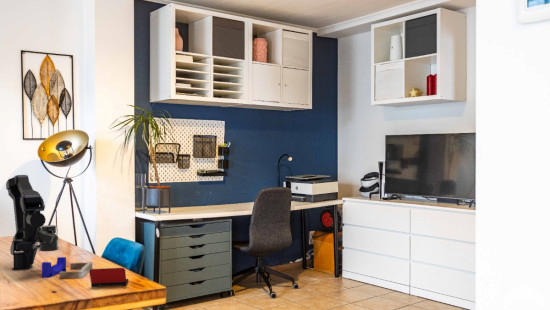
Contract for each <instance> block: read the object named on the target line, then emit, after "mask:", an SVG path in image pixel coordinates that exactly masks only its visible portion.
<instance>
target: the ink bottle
mask: <svg viewBox="0 0 550 310" xmlns="http://www.w3.org/2000/svg"><path fill="white" fill-rule="evenodd" d="M41 230H42V231H46V232H47V231H48V230H53V232H54V234H55V237H54V238H53V241H52V242H51V243H50V244H49V243H46V242H45V243H43V242H38V245H42V246H41V247H40V248H39V249H38V250H39V251H42V252H44V251H46V252H49V251H56V250H58V249H59V235H57V234H56V233H57V232H56V231H57V225H54V224H53V225H52V224H47V225H43V226H41Z"/></svg>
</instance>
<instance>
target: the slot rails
mask: <svg viewBox="0 0 550 310" xmlns="http://www.w3.org/2000/svg"><path fill="white" fill-rule="evenodd" d="M69 265H70V271H67V270H66V272H59V274H58V276H59V280H68V279H69V280H70V279H71V280H72V279H73V280H74V279H83V278H85V276H86V275H87V274H89V271H90V270H91V269H93V262H71V263H70V264H69Z"/></svg>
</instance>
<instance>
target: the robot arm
mask: <svg viewBox="0 0 550 310" xmlns="http://www.w3.org/2000/svg"><path fill="white" fill-rule="evenodd" d="M5 188H6V189H5V190H6V191H7V193H8V194H7V195H8V197H10V199H12V201H13V202H12V203H13V211H14V213H13V215H14V221H15V231H16V232H15V234H14V236H13V238H12V241H11V245H10V250H9V251H10V255H12V256H13V257H12V258H13V267H12V269H11V270H12V271H13V270H14V271H16V270H30V269H31V268H32V267H33V264H34V263H35V260H36V255H37V252H38V250H40V249H39V248H40V247H41V246H42V245H39V242H43V243H45V242H46V243H49V244H50V243H51V242H52V241H53V238H54V237H55V234H56V233H55V234H54V232H53V230H48V231H47V232H46V231H42V226H45V224H46V216H45V215H44V214H43V213H41V212H42V211H45V209H46V205H45V201H44V198H43V196H41V194H40V193H39V191H36V190H34V188H33V186H32V185H31V182H30V179H29V175H27V174H18V175H14V176H13V177H11V178H8V180H7V181H6V183H5Z"/></svg>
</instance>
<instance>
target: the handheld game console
mask: <svg viewBox="0 0 550 310" xmlns="http://www.w3.org/2000/svg"><path fill="white" fill-rule="evenodd" d="M88 274H89V277H90V278H89V279H90V284H91V285H90V286H91V288H95V287H96V288H97V287H120V286H121V287H124V286H127V284H128V283H129V279H128V278H127V277H126V269H125V268H124V267H111V268H110V267H109V268H92V269H91V270H90V271H89V272H88Z"/></svg>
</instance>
